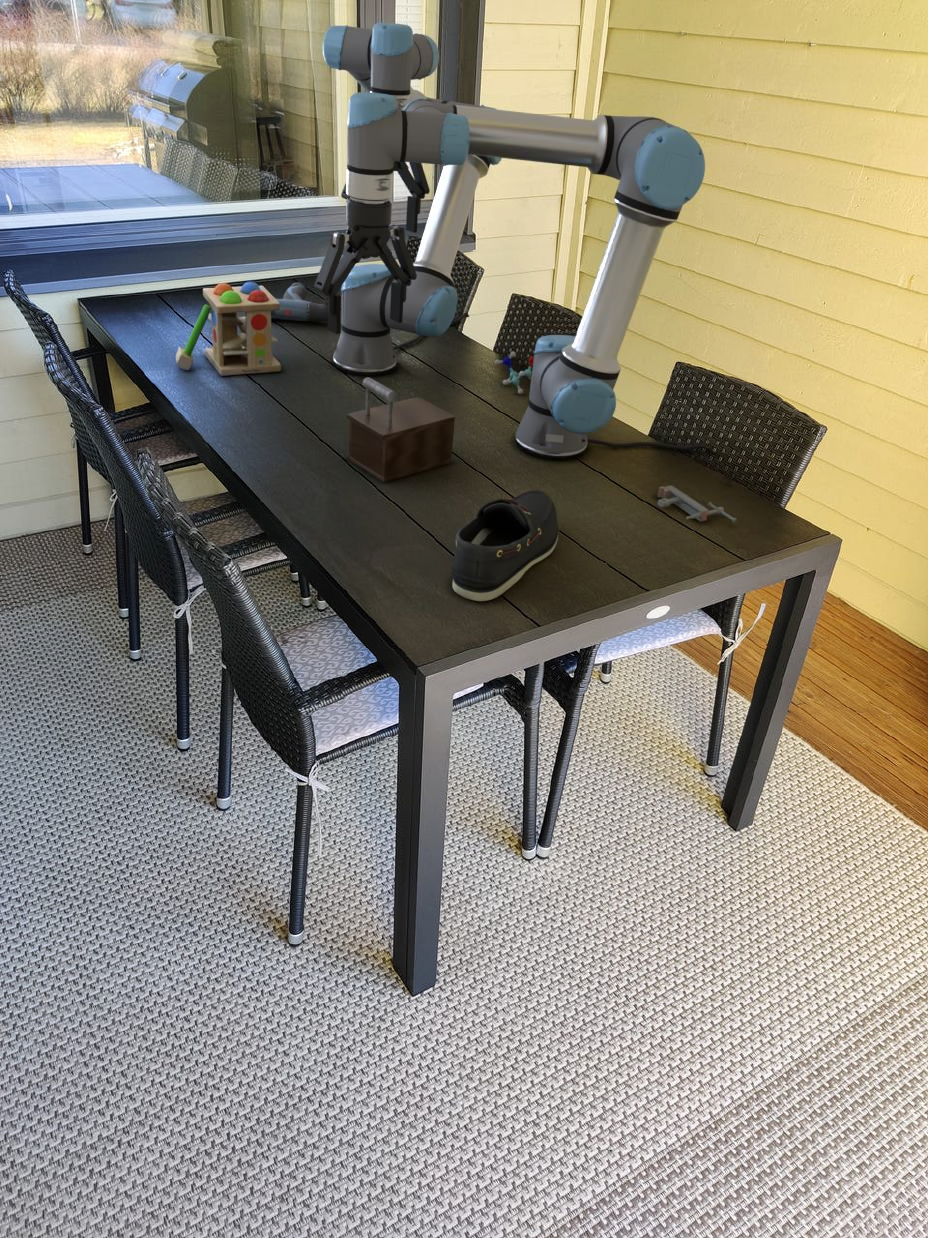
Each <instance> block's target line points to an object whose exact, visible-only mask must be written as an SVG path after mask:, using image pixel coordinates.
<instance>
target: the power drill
mask: <svg viewBox="0 0 928 1238" xmlns="http://www.w3.org/2000/svg"><path fill="white" fill-rule="evenodd" d="M307 295H308V290H307V287H306V285H304V284H303V283H301V282H293V283H292V284H291V285H290V286H289V287H288V288H287V289H286V291H285V292H284V294H283V297H282V298H275V299H276V300H277V301H278V302H279V303H280V310H271V319H274V320H275V319H276V320H283V321H294V322H295V321H297V322H328V313H326V312H325V303H317V302H313V301H307V300H305V299H306V297H307Z"/></svg>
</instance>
